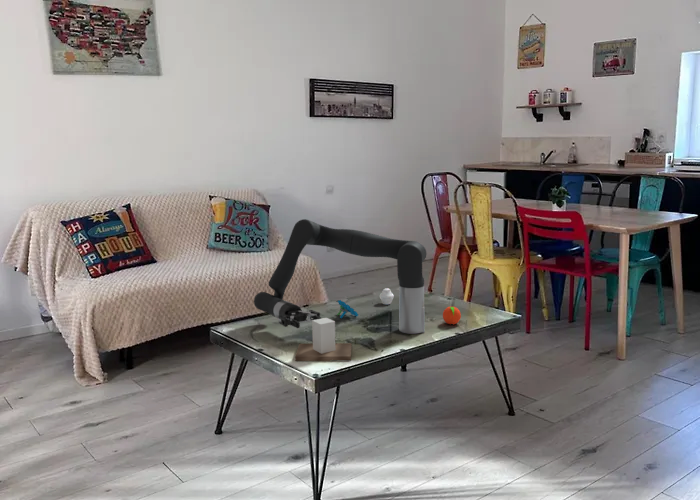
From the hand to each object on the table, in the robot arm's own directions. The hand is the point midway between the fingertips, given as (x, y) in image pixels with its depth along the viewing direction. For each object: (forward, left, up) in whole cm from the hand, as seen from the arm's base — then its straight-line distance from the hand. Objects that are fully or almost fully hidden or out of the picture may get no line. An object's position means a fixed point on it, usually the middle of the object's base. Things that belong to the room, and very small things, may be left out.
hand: (309, 323), depth 212 cm
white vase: (-28, -56, -9) cm, 63 cm away
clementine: (-52, -25, -9) cm, 59 cm away
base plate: (-5, +7, -9) cm, 12 cm away
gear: (-12, -36, -9) cm, 39 cm away
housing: (-5, +7, -7) cm, 11 cm away
